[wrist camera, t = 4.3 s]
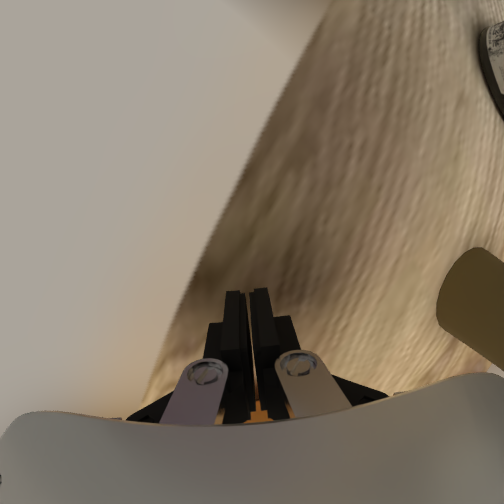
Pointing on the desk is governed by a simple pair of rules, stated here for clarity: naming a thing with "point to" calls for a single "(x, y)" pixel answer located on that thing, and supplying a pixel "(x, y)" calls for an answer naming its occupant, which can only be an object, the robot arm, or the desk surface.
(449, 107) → the desk surface
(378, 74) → the desk surface
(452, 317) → the olive pawn
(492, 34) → the ink bottle
